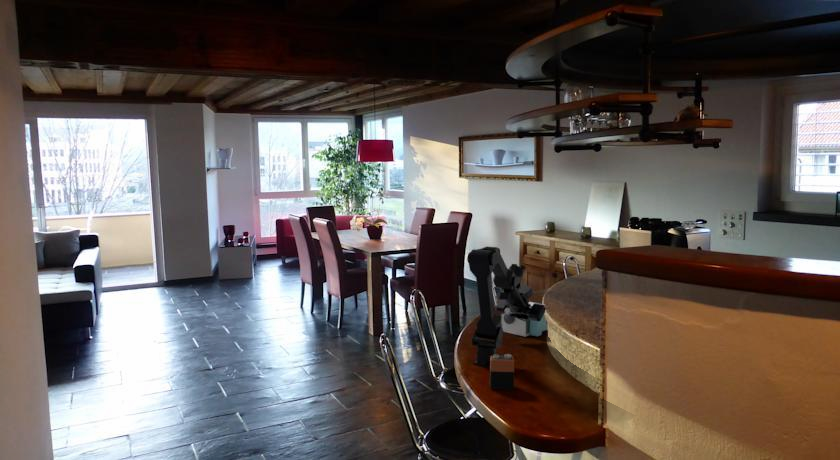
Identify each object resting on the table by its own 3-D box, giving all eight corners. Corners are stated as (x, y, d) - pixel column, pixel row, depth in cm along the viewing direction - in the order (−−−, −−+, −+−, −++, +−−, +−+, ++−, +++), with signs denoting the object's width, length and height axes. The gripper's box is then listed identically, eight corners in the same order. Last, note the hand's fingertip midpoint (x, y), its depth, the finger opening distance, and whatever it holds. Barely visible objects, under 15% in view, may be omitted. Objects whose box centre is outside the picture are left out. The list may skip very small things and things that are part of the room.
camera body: (523, 337, 231) (524, 311, 230) (499, 331, 238) (500, 306, 237) (545, 329, 242) (545, 304, 241) (521, 324, 249) (522, 300, 248)
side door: (537, 336, 231) (538, 313, 230) (529, 334, 233) (530, 311, 232) (552, 330, 239) (553, 308, 238) (544, 328, 241) (545, 306, 240)
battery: (513, 390, 178) (514, 357, 176) (490, 390, 178) (491, 357, 177) (512, 385, 182) (513, 352, 181) (489, 384, 182) (490, 352, 181)
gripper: (544, 283, 216) (559, 308, 226) (501, 276, 229) (517, 300, 238) (531, 308, 212) (547, 333, 221) (487, 299, 224) (504, 323, 233)
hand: (528, 321), depth 228 cm, fingers closed
